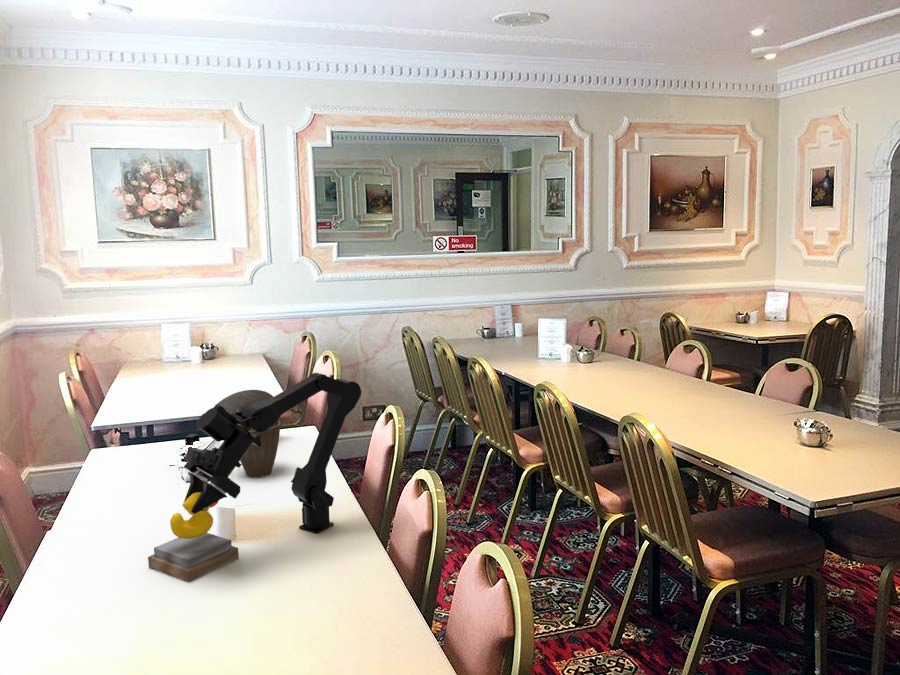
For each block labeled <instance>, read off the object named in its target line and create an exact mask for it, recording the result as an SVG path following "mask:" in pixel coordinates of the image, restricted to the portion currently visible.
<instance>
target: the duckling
mask: <svg viewBox="0 0 900 675" xmlns="http://www.w3.org/2000/svg"><path fill="white" fill-rule="evenodd" d="M200 494H201V492H197V493H194V494H192V495H191V496H190V497H189V498H188V499H187V500H186V501H185V502H184V501H183V504H182V507H183V508H184V509H185V510H186V512H187V513H188V514H189V515H191V517H190V518H188V519H186V520H185V519H184V517H183V515H182V514H181V513H179V512H175V513H174V514H173V515H172V516H171V518H170V524H169V525H170V529H171V532H172V533H173V535H174V536H176V537H177V538H184V539H192V538H196V537H200V536H203V535H205V534H206V533H209V531H210V530H211V528H212V527H213V524H214V517H213V515H212V514H211V513H210V512H208V511H209V510H210V508H213V507H215V506H216V505H218V503H219V501H220V500H218V501H217V502H215V503H213V504H211V505H209V506H208V507H206V508H204V509H203V510H201V511H199V512H198V513H196V514H194V513H192V512H191V510H192V508H193V506H194V504H195V503H196V501H197V499H198V498H199V496H200Z"/></svg>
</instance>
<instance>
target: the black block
mask: <svg viewBox="0 0 900 675" xmlns="http://www.w3.org/2000/svg"><path fill="white" fill-rule="evenodd" d="M199 435H200V434H196V433H191V434H188V435H186V436H185V440H184V442H185V446H186V445H193V442H195V441H200V436H199Z"/></svg>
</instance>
